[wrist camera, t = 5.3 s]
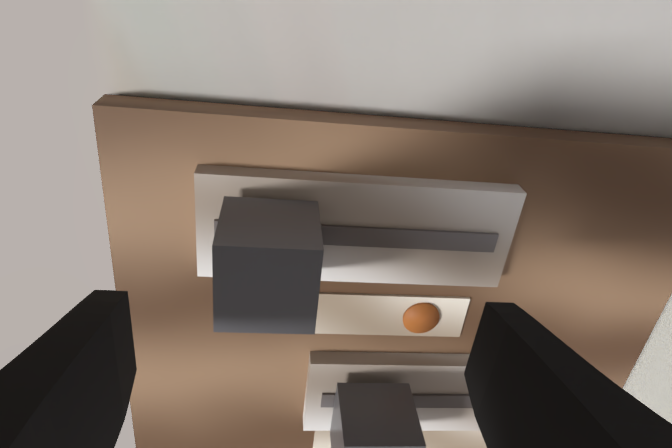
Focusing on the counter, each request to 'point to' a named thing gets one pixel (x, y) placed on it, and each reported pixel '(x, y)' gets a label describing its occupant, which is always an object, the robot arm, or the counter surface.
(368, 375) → the switch board
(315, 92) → the counter surface
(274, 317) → the switch
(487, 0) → the counter surface
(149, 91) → the counter surface
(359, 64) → the counter surface
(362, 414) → the switch
